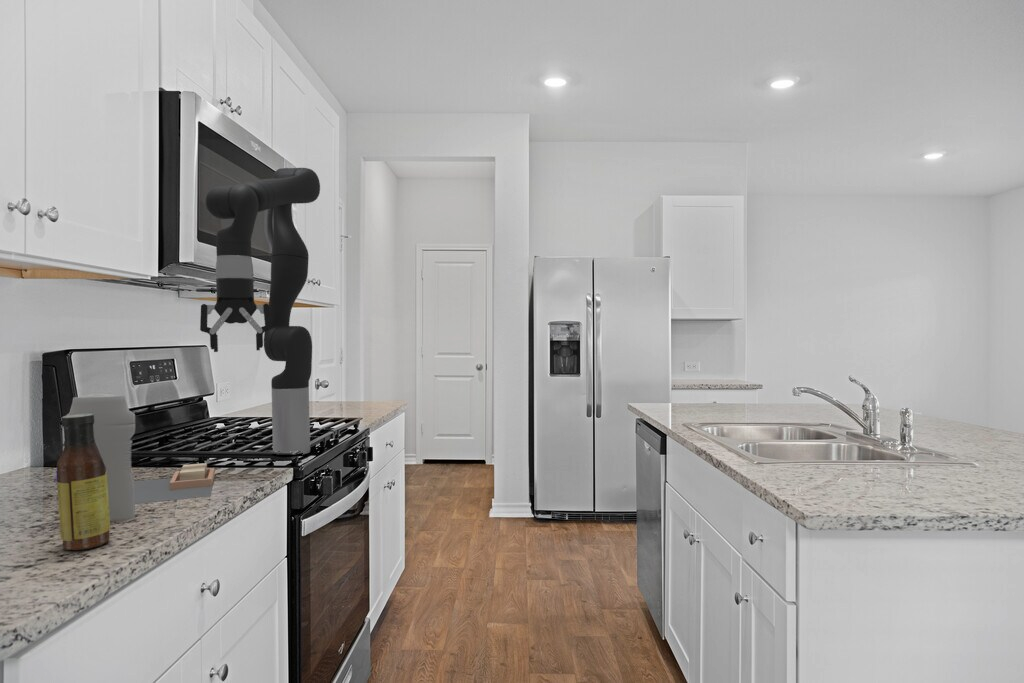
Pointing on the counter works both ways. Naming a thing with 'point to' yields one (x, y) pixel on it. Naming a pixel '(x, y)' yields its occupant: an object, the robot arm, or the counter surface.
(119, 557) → the counter surface
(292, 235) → the robot arm
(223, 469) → the counter surface
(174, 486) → the frame
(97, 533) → the sauce bottle
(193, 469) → the beige rectangular prism
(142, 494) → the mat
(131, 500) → the tall pale column
